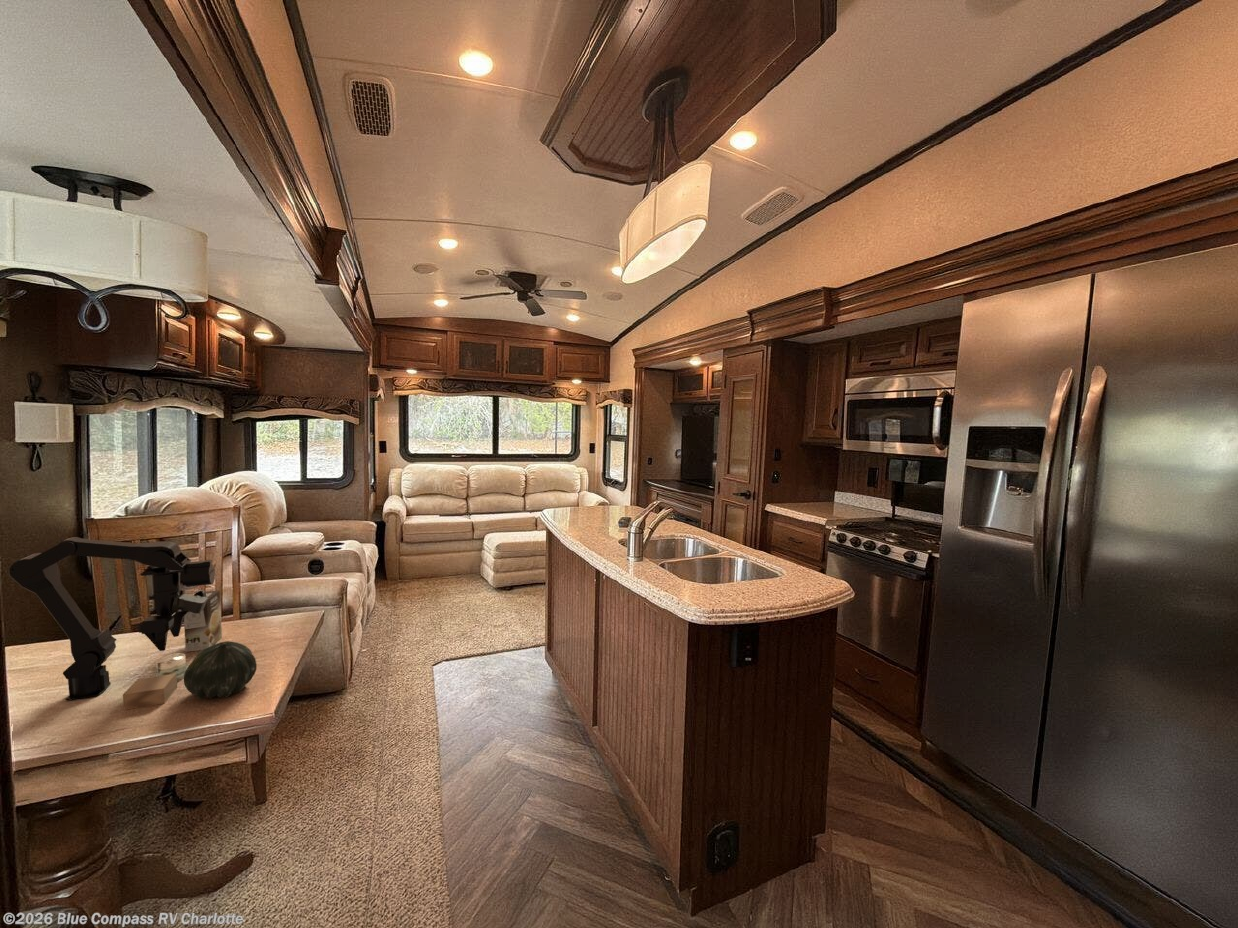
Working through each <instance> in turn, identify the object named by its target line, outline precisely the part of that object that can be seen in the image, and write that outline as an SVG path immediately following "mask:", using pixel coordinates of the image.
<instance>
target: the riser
mask: <svg viewBox="0 0 1238 928" xmlns="http://www.w3.org/2000/svg"><path fill="white" fill-rule="evenodd" d="M177 688H178V682H177V675H176V674H169V675H162V676H157V675H154V676H149V677H142V678H137V679H136V680H135V681H134V682H133V683H132V684H131V685H130V687H129V688H128V689H126V690H125V692H124V693H123V694H122V703H123V710H124V711H127V710H130V709H131V710H132V709H138V708H144V707H150V706H157V705H162V704H166V702H167V701H168V700H169V698H170V697H171V696H172V695H173V693H175V691H176V690H177Z"/></svg>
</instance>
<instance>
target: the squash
mask: <svg viewBox="0 0 1238 928" xmlns="http://www.w3.org/2000/svg"><path fill="white" fill-rule="evenodd" d="M257 667H258V664H257V661H256V658H255V656H254V654H253V652H252V650H251V649H250V648H249V647H248V646H247V645H244V644H242V643H239V642H235V641H230V640H228V641H227V640H226V641H222V642H218V643H215V644H214V645H213V646H211V647H208V648H206V649H204V650H200V652H198V653H197V654H196V656H194V658H193V660H192V661H191V663H190V664H189V665H187V667H186V671H185V674H184V679H183V685H184V686H185V688H186V690H187V691H188V692H189V693H190V694H191V695H194V696H196V697H198V698H201V699H202V698H206V697H207V698H215V697H218V698H223V699H224V698H228V697H229V696H230V695H231V694H236V693H237V694H238V693H240V692H241V691H242V690H243V689H244V687H245V686H246V685H247V684H248V683H250V682H251V680H252V679H253V677H254V676H255V674H256V671H257Z"/></svg>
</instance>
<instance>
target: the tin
mask: <svg viewBox="0 0 1238 928" xmlns="http://www.w3.org/2000/svg"><path fill="white" fill-rule="evenodd" d="M155 662H156V676H162V675H169V674H176V675H177V683H178V682H180V681H182V680H184V674H185V671H186V669H187V660H186V654H185V653H181V652H179V653H178V652H177V653H170V654H167V655H164V656H162V657H160V658H158V659H157V660H156V661H155Z"/></svg>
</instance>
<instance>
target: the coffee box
mask: <svg viewBox="0 0 1238 928" xmlns="http://www.w3.org/2000/svg"><path fill="white" fill-rule="evenodd" d="M205 593H206V596H208V601H207V602H206V604H205V607H204V609H203V610H202V611H201V612H200V613H198V614H195V613H192V612H188V613H187V614H185V616H184V619H183V623H184V624H183V626H184V627H183V628H184V644H185V645H184V647H185V652H195V651H202V650H204V649H206V648H208V647H211V646H213V645H215V644H217V642H218V641H220V640H222V638H223V632H222V631H223V628H222V610H221V608H222V607H221V590H209V591H206V590H205ZM218 643H219V642H218Z"/></svg>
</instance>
